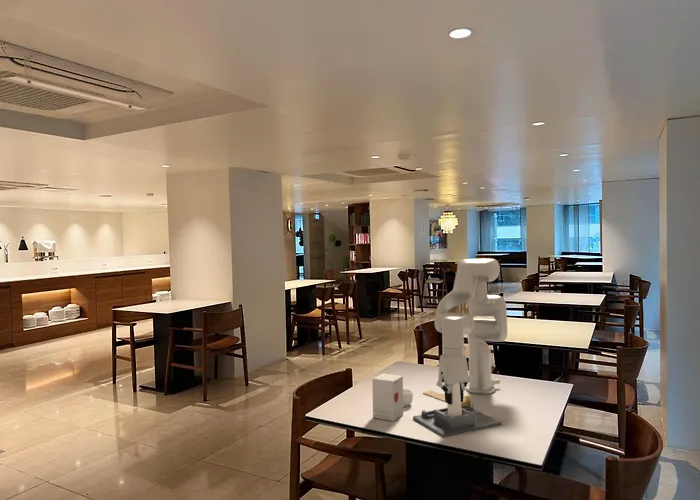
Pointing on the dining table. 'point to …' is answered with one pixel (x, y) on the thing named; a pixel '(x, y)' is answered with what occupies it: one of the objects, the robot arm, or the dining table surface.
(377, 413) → the supplement box
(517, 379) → the dining table surface
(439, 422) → the cradle
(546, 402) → the dining table surface
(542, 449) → the dining table surface
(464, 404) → the wooden block
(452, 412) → the cosmetic bottle
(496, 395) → the dining table surface
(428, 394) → the newspaper
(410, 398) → the teacup
